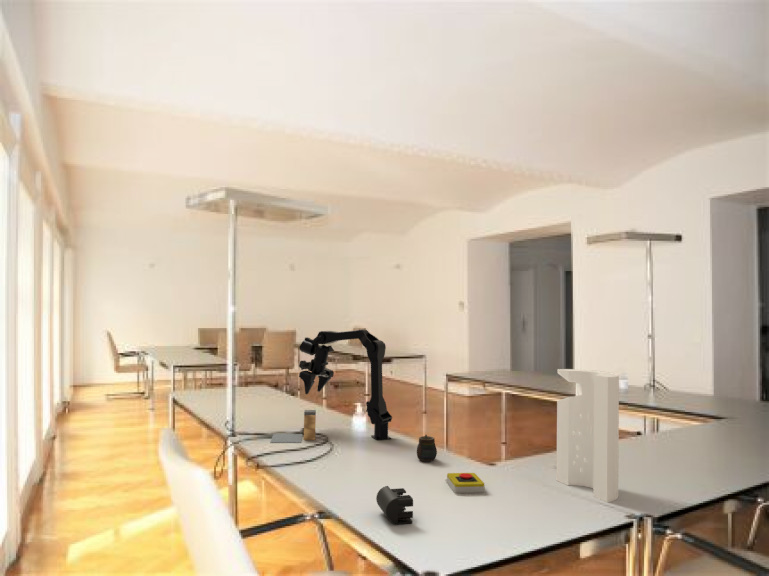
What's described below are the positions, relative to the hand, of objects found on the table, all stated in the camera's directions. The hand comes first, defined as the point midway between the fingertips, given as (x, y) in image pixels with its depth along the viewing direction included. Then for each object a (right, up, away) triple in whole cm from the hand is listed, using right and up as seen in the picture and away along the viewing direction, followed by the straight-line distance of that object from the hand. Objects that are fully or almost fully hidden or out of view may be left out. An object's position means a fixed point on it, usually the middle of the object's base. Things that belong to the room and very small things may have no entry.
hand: (312, 392), depth 245 cm
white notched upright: (+94, -15, -77) cm, 123 cm away
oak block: (+1, -15, -20) cm, 25 cm away
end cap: (+34, -13, -103) cm, 110 cm away
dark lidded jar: (+46, -15, -49) cm, 69 cm away
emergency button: (+56, -15, -77) cm, 97 cm away
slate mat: (-8, -15, -21) cm, 26 cm away
